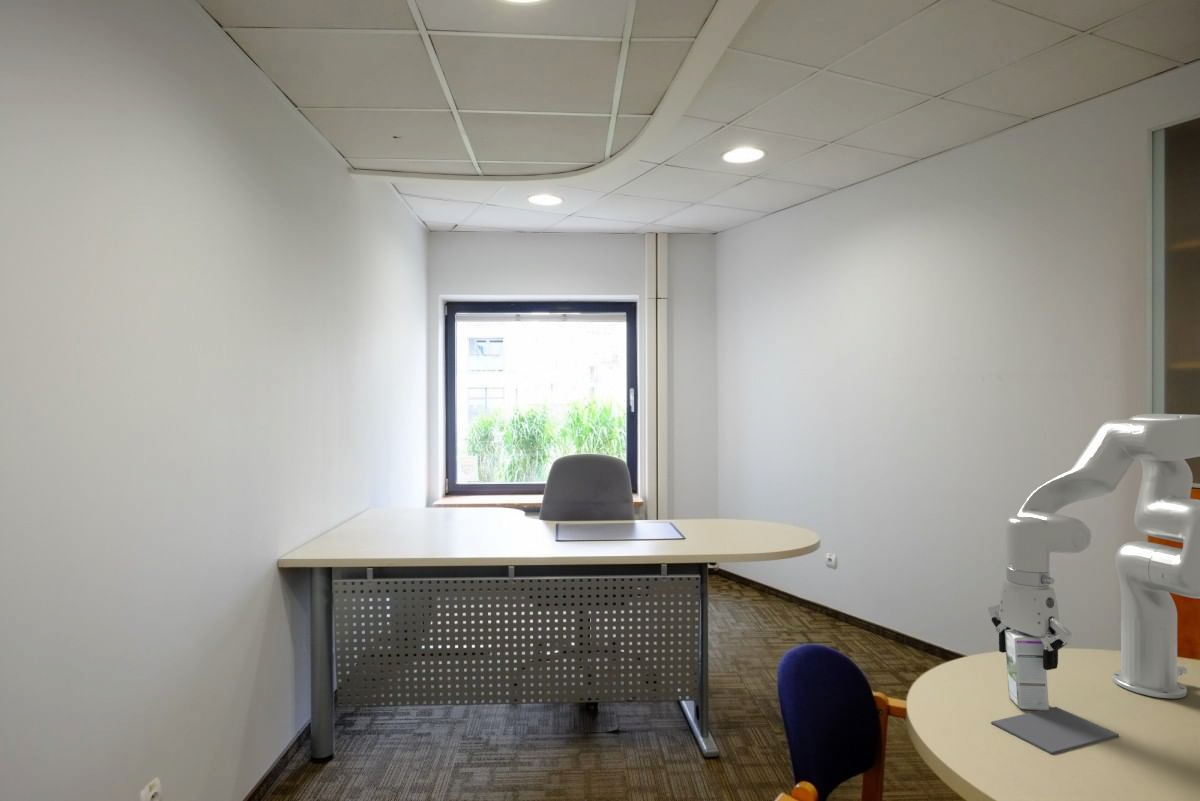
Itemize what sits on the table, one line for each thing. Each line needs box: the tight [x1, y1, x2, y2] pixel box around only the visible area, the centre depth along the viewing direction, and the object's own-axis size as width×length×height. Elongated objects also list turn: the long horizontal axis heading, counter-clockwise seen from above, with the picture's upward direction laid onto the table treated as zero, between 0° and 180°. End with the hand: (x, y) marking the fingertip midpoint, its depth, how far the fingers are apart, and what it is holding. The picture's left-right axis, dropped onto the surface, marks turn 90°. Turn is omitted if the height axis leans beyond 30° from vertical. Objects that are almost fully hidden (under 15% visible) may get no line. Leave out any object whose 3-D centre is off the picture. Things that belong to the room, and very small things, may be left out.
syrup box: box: [1005, 629, 1050, 711], centre depth 139 cm, size 6×6×14 cm
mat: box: [990, 706, 1120, 755], centre depth 128 cm, size 18×12×1 cm, turn 110°
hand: (1027, 659), depth 138 cm, fingers open, 9 cm apart
